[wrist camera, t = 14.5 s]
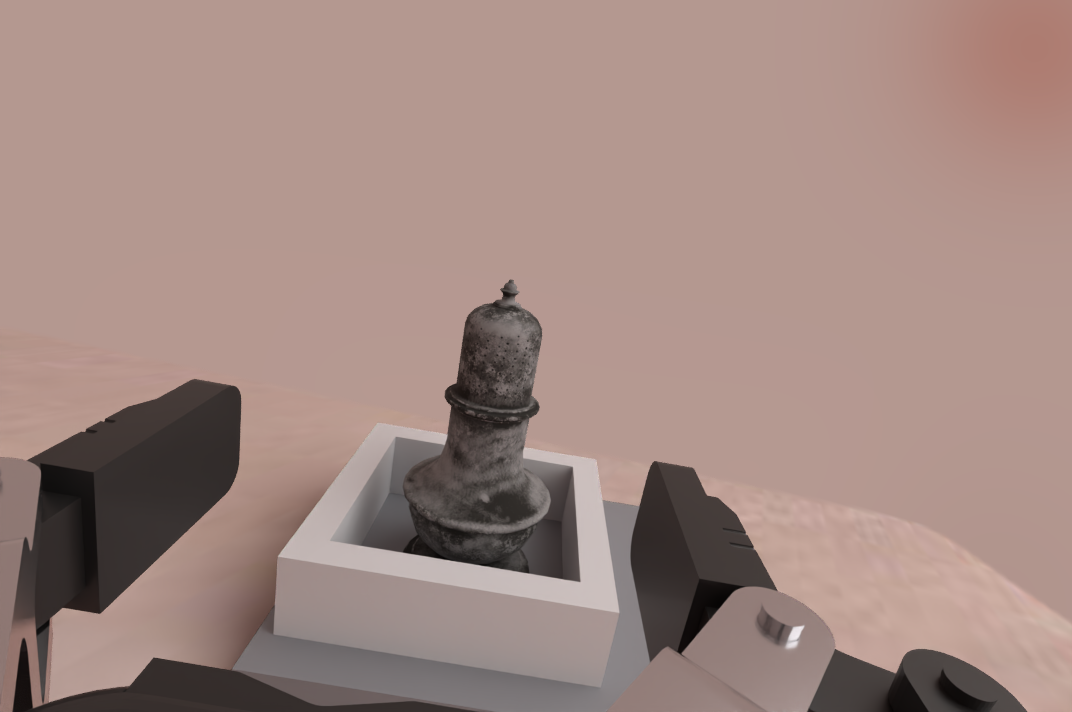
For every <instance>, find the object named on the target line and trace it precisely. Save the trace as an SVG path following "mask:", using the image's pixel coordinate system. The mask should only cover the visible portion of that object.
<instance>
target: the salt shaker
mask: <svg viewBox="0 0 1072 712" xmlns="http://www.w3.org/2000/svg"><path fill="white" fill-rule="evenodd" d="M516 289H517V286H516V285H515V284H514V281H513V280H509V282H508V283H506V284H505V286H504V288H501V289H500V290H501V291H502V292H503V297H502V300H496V301H495V302H494V303H491V304H484V305H482V306H480V307H478V308H476V309H474V310H473V311H472V312H471V313H470V314H469V315H468V317H467V320H466V322H465V328H464V336H463V342H462V349H461V356H460V363H459V371H458V377H457V383H456V384H454V385H451V386H449V387H448V388H447V389H446V391H445V399H446V400H447V402H448V403H449V404H450V405H451V413H450V420H449V427H448V434H447V440H446V443H445V446H444V449H443V451H442V453H441V455H437V456H434V457H431V458H428V459H425V460H423V461H421V462H420V463H418V464H416V465H414V466H413V467H412V468H411V469H410V470H409V472H408V473H407V474H406V475H405V478H404V482H403V491H404V495H405V498H406V499H407V501H408V502H409V510H410V514H411V517H412V520H413V523H414V526H415V530H416V532H417V534H418V535H416V536H415V537H414V538H413V539H411V540H410V541H409V543H408V544H407V545H406V547H405V548H404V550H403V553H407V554H413V555H419V556H425V557H431V558H437V559H443V560H449V561H455V562H461V563H467V564H473V565H480V566H486V567H492V568H498V569H504V570H510V571H516V572H522V573H528V574H529V565H528V560H527V558H526V556H525V555H524V553H523V551H522V550H521V548H522V547H523V546H524V544H525V543H526V542H527V541H528V539H529V538H530V537H531V535H532V534H533V532H534V531H535V530H536V527H537V524H538V522H539V521H540V520H541V519H542V518H543V517H544V516H545V515H546V514H547V513H548V509H549V506H550V503H551V499H550V494H549V490H548V489H547V488H546V486H545V485H544V483H543V482H542V480H541V479H540V478H538V477H537V476H536V475H535V474H534V473H533V472H531V471H530V470H528V469H526V468H524V466H523V450H524V445H525V439H526V434H527V427H528V422H529V418H531V417H532V416H534V415H536V414H537V412H538V411H539V403H538V401H537V400H536V399H535V398H534V397H533V396H531V395H532V388H533V384H534V378H535V373H536V367H537V362H538V356H539V350H540V345H541V339H542V329H541V326H540V324H539V322H538V320H537V319H536V318H535V317H534V316H533V315H532V314H531V313H530V312H529V311H527V310H525V309H523V308H522V307H521V305H520V304H519V303H517V302H515V296H516V295H517V294H518V293H519V291H517V290H516Z"/></svg>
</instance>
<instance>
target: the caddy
mask: <svg viewBox="0 0 1072 712" xmlns="http://www.w3.org/2000/svg"><path fill="white" fill-rule="evenodd" d="M446 440H447V434H443V433H437V432H431V431H425V430H419V429H413V428H408V427H402V426H396V425H390V424H384V423H377V424H376V425H375V427H374V428H373V430H372V431H371V432H370V434H369V435H368V436H367V438H366V439H365V440H364V442H363V443H362V444H361V446H360V447H359V448H358V450H357V451H356V452H355V454H354V455H353V456H352V458H351V459H350V460H349V462H348V463H347V464H346V466H345V467H344V468H343V470H342V471H341V472H340V474H339V475H338V476H337V478H336V479H335V480H334V482H333V483H332V484H331V486H330V487H329V488H328V490H327V491H326V492H325V494H324V495H323V496H322V498H321V499H320V500H319V502H318V503H317V504H316V506H315V507H314V509H313V510H312V511H311V513H310V514H309V515H308V517H307V518H306V519H305V521H304V522H303V523H302V525H301V526H300V527H299V529H298V530H297V531H296V533H295V534H294V535H293V537H292V538H291V539H290V541H289V542H288V543H287V545H286V546H285V547H284V549H283V550H282V551H281V553H280V554H279V555H278V559H277V578H276V596H275V605H274V607H273V608H272V610H271V611H270V613H269V614H268V616H267V617H266V619H265V620H264V622H263V623H262V625H261V626H260V628H259V629H258V631H257V632H256V634H255V635H254V637H253V638H252V640H251V641H250V643H249V644H248V646H247V647H246V649H245V650H244V652H243V653H242V655H241V656H240V658H239V659H238V661H237V662H236V664H235V665H234V667H233V668H232V671H237V672H241V673H243V674H245V675H247V676H250V677H252V678H254V679H257V680H259V681H261V682H263V683H266V684H268V685H270V686H272V687H275V688H277V689H279V690H281V691H284V692H286V693H288V694H290V695H293V696H295V697H297V698H299V699H302V700H304V701H306V702H308V703H311V704H314V705H319V706H337V705H354V704H371V703H388V702H405V701H417V702H423V703H429V704H435V705H441V706H447V707H453V708H459V709H465V710H471V711H477V712H606V711H607V710H608V709H609V708H610V707H611V706H612V705H613V704H614V702H615V701H616V700H617V699H618V698H619V697H620V696H621V695H622V694H623V692H624V691H625V690H626V689H627V688H628V687H629V686H630V685H631V684H632V682H633V681H634V680H635V679H636V678H637V677H638V676H639V675H640V674H641V672H642V671H643V670H644V669H645V668H646V667H647V666H648V665H649V664H650V660H649V655H648V649H647V644H646V639H645V634H644V629H643V624H642V619H641V614H640V609H639V604H638V599H637V593H636V588H635V583H634V578H633V573H632V568H631V560H630V551H631V540H632V534H633V530H634V526H635V522H636V518H637V514H638V510H639V507H640V506H634V505H628V504H622V503H616V502H610V501H604V500H602V494H601V488H600V481H599V475H598V468H597V461H596V459H590V458H584V457H579V456H573V455H567V454H561V453H555V452H549V451H543V450H537V449H531V448H525V447H524V450H523V466H524V468H526V469H528V470H530V471H531V472H533V473H534V474H535V475H536V476H537V477H538V478H540V479H541V480H542V482H543V483H544V485H545V486H546V488H547V489H548V490H549V494H550V499H551V503H550V506H549V509H548V513H547V514H546V515H545V516H544V517H543V518H542V519H541V520H540V521H539V522H538V524H537V527H536V530H535V531H534V532H533V534H532V535H531V537H530V538H529V539H528V541H527V542H526V543H525V544H524V546H523V547H522V548H521V550H522V551H523V553H524V555H525V556H526V558H527V560H528V565H529V574H528V573H522V572H516V571H510V570H504V569H498V568H492V567H486V566H480V565H473V564H467V563H461V562H455V561H449V560H443V559H437V558H431V557H425V556H419V555H413V554H407V553H403V550H404V548H405V547H406V545H407V544H408V543H409V541H410V540H411V539H413V538H414V537H415V536H416V535H418V534H417V532H416V530H415V526H414V523H413V520H412V517H411V514H410V510H409V502H408V501H407V499H406V498H405V495H404V491H403V482H404V478H405V475H406V474H407V473H408V472H409V470H410V469H411V468H412V467H413V466H414V465H416V464H418V463H420V462H421V461H423V460H425V459H428V458H431V457H434V456H437V455H441V453H442V451H443V449H444V446H445V443H446ZM745 535H746V533H745ZM753 550H754V548H753Z"/></svg>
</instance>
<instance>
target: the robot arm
mask: <svg viewBox="0 0 1072 712" xmlns="http://www.w3.org/2000/svg"><path fill="white" fill-rule="evenodd" d="M240 422H241V395H240V391H239V389H238V388H237V387H235V386H231V385H226V384H220V383H214V382H209V381H203V380H197V379H193V380H190V381H189V382H187V383H185V384H183V385H181V386H179V387H178V388H176V389H174V390H172V391H170V392H169V393H167V394H165V395H163V396H161V397H159V398H158V399H155V400H151V401H147V402H144V403H140V404H136V405H133V406H129V407H127V408H125V409H123V410H121V411H119V412H117V413H115V414H113V415H112V416H110V417H108V418H106V419H105V421H104V422H102V421H100V422H98V423H97V424H95V425H93V426H91V427H89V428H87V429H86V431H85V432H80V433H78V434H76V435H74V436H72V437H70V438H68V439H66V440H64V441H63V442H61V443H59V444H57V445H55V446H53V447H51V448H49V449H48V450H46V451H44V452H42V453H40V454H38V455H36V456H34V457H32V458H31V459H29V460H27V461H26V460H22V459H16V458H5V457H0V712H477V711H471V710H465V709H459V708H453V707H447V706H441V705H435V704H429V703H423V702H417V701H405V702H388V703H371V704H354V705H337V706H319V705H314V704H311V703H308V702H306V701H304V700H302V699H299V698H297V697H295V696H293V695H290V694H288V693H286V692H284V691H281V690H279V689H277V688H275V687H272V686H270V685H268V684H266V683H263V682H261V681H259V680H257V679H254V678H252V677H250V676H247V675H245V674H243V673H241V672H237V671H231V670H225V669H219V668H213V667H207V666H201V665H195V664H189V663H183V662H177V661H171V660H165V659H159V658H153V659H152V660H151V662H150V663H149V664H148V665H147V666H146V668H145V669H144V670H143V671H142V672H141V673H140V675H139V676H138V677H137V678H136V679H135V681H134V682H133V683H132V684H131V685H130V686H128V687H116V688H110V689H103V690H96V691H91V692H87V693H82V694H78V695H73V696H69V697H66V698H62V699H59V700H56V701H53V702H49V690H50V675H51V659H52V643H53V629H52V616H53V615H55V614H56V613H57V612H58V611H59V610H60V609H62V608H68V609H74V610H80V611H86V612H92V613H98V614H100V613H101V612H103V611H104V610H105V609H106V608H107V607H108V606H109V605H110V604H111V603H112V602H113V601H114V600H115V599H116V598H117V597H118V596H119V595H120V594H121V593H122V592H124V591H125V590H126V589H127V588H128V587H129V586H130V585H131V584H132V583H133V582H134V581H135V580H136V579H137V578H138V577H139V576H140V575H141V574H142V573H143V572H145V571H146V570H147V569H148V568H149V567H150V566H151V565H152V564H153V563H154V562H155V561H156V560H157V559H158V558H159V557H160V556H161V555H162V554H163V553H164V552H166V551H167V550H168V549H169V548H170V547H171V546H172V545H173V544H174V543H175V542H176V541H177V540H178V539H179V538H180V537H181V536H182V535H183V534H184V533H185V532H187V531H188V530H189V529H190V528H191V527H192V526H193V525H194V524H195V523H196V522H197V521H198V520H199V519H200V518H201V517H202V516H203V515H204V514H205V513H206V512H207V511H209V510H210V509H211V508H212V507H213V506H214V505H215V504H216V503H217V502H218V501H219V500H220V499H221V498H222V497H223V496H224V495H225V494H226V493H227V492H228V491H229V489H230V488H231V486H232V484H233V482H234V480H235V477H236V474H237V471H238V466H239V451H240ZM745 533H746V531H745V530H744V528H743V526H742V524H741V522H740V520H739V518H738V517H737V515H736V514H735V513H734V512H733V511H732V510H731V509H730V508H729V507H727V506H726V505H725V504H724V503H723V502H722V501H721V500H720V499H718V498H717V497H711V496H707V495H706V493H705V491H704V489H703V487H702V485H701V483H700V480H699V478H698V476H697V474H696V472H695V470H694V469H693V468H690V467H685V466H679V465H673V464H667V463H662V462H657V461H654V462H653V463H652V465H651V467H650V469H649V472H648V476H647V480H646V483H645V487H644V491H643V495H642V499H641V503H640V507H639V510H638V514H637V518H636V522H635V526H634V530H633V534H632V540H631V551H630V560H631V568H632V573H633V578H634V583H635V588H636V593H637V599H638V604H639V609H640V614H641V619H642V624H643V629H644V634H645V639H646V644H647V649H648V655H649V660H650V664H649V665H648V666H647V667H646V668H645V669H644V670H643V671H642V672H641V674H640V675H639V676H638V677H637V678H636V679H635V680H634V681H633V682H632V684H631V685H630V686H629V687H628V688H627V689H626V690H625V691H624V692H623V694H622V695H621V696H620V697H619V698H618V699H617V700H616V701H615V702H614V704H613V705H612V706H611V707H610V708H609V709H608V710H607V711H606V712H1027V711H1026V710H1025V708H1024V707H1023V706H1022V705H1021V704H1020V702H1019V701H1018V700H1017V699H1016V698H1015V697H1014V696H1013V695H1012V694H1011V693H1010V692H1009V691H1008V690H1006V689H1005V688H1004V687H1003V686H1002V685H1000V684H999V683H998V682H997V681H995V680H994V679H993V678H991V677H990V676H988V675H987V674H985V673H984V672H982V671H980V670H979V669H977V668H976V667H974V666H972V665H970V664H968V663H966V662H964V661H962V660H960V659H958V658H955V657H953V656H950V655H947V654H945V653H941V652H938V651H933V650H927V649H916V650H912V651H909V652H907V653H906V654H905V656H904V657H903V659H902V662H901V664H900V666H899V668H898V671H897V673H896V674H895V673H893V672H890V671H887V670H885V669H882V668H880V667H877V666H875V665H872V664H870V663H867V662H864V661H862V660H859V659H857V658H854V657H852V656H849V655H847V654H845V653H842V652H840V651H838V650H836V649H835V640H834V637H833V634H832V632H831V631H830V629H829V627H828V626H827V625H826V623H825V622H824V621H823V620H822V619H821V618H820V617H819V616H818V615H817V614H816V613H815V612H814V611H812V610H811V609H810V608H808V607H807V606H806V605H804V604H803V603H801V602H799V601H798V600H796V599H794V598H792V597H790V596H788V595H786V594H783V593H781V592H778V591H777V589H776V587H775V585H774V583H773V581H772V579H771V578H770V576H769V574H768V572H767V570H766V568H765V567H764V565H763V563H762V561H761V559H760V557H759V555H758V554H757V552H756V550H753V547H754V546H753V544H752V543H751V541H750V539H749V537H748V535H745Z"/></svg>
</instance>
